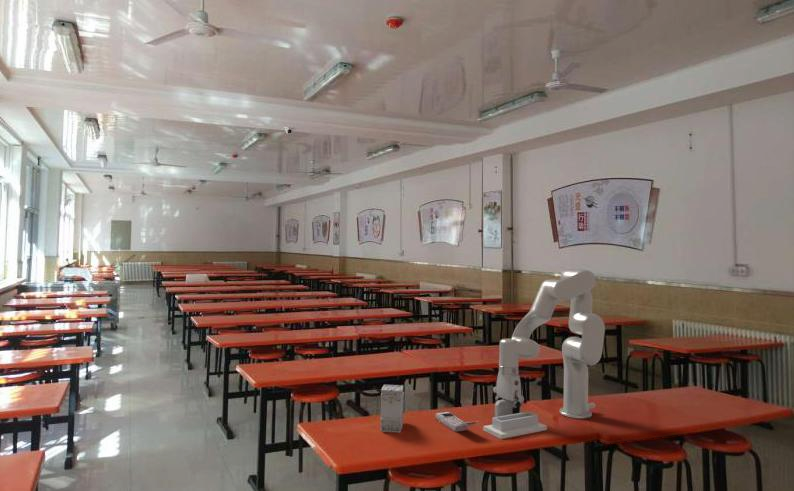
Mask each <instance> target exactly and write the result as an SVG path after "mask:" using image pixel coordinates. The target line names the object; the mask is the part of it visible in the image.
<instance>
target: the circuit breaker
mask: <svg viewBox="0 0 794 491" xmlns="http://www.w3.org/2000/svg"><path fill="white" fill-rule="evenodd" d="M380 391H381V393H380V403H381V404H380V405H381V406H380V430H379V432H381V433H382V432H384V433H386V432H387V433H399V434H400V433H401V432H402V428H403V426H404V423H403V422H404V419H403V418H404V412H405V392H404V384H400V385H399V384H383V386H381V390H380Z"/></svg>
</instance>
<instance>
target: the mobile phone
mask: <svg viewBox="0 0 794 491" xmlns="http://www.w3.org/2000/svg"><path fill="white" fill-rule="evenodd" d="M435 419H436V420H437V421H438V423H441V424H442V425H445V426H446V427H447V428H449V429H451V431H454V432H455V433H456V432H462V431H467V430H468V427H470V426H473V425H475V424H477V423H479V420H477V421H468V422H465V421H463V420H462V419H460V418H458V417H457V416H456V415H455V414H453V413H451V412H450V411H444V412H435Z"/></svg>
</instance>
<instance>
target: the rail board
mask: <svg viewBox="0 0 794 491" xmlns="http://www.w3.org/2000/svg"><path fill="white" fill-rule="evenodd" d="M491 421H492V422H491V423H492V424H488V425H483V427H482V429H483V431H484V432H485V433H488V434H490V435H492V436H494V437H496V438H498V439H500V440H503V439H508V438H512V437H518V436H523V435H528V434H533V433H538V432H542V431H547V430H548V425H546V424H543V423H541V422H539V416H538V415H537V414H536V413H534V412H531V411H524V412H521V413H517V414H511V415H506V416H500V417H495V416H494V417H492V419H491Z"/></svg>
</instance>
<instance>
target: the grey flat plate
mask: <svg viewBox="0 0 794 491" xmlns="http://www.w3.org/2000/svg"><path fill="white" fill-rule="evenodd" d="M496 401H497V400H496ZM496 401H495V404H494V417H500V416H506V415H511V414H512V408H513V407H514V406H513V404H512V402H511V401H508V400H506V399H502V400H498V401H497V402H496ZM515 403H516V401H515ZM520 413H522V406H521V407H520Z"/></svg>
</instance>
